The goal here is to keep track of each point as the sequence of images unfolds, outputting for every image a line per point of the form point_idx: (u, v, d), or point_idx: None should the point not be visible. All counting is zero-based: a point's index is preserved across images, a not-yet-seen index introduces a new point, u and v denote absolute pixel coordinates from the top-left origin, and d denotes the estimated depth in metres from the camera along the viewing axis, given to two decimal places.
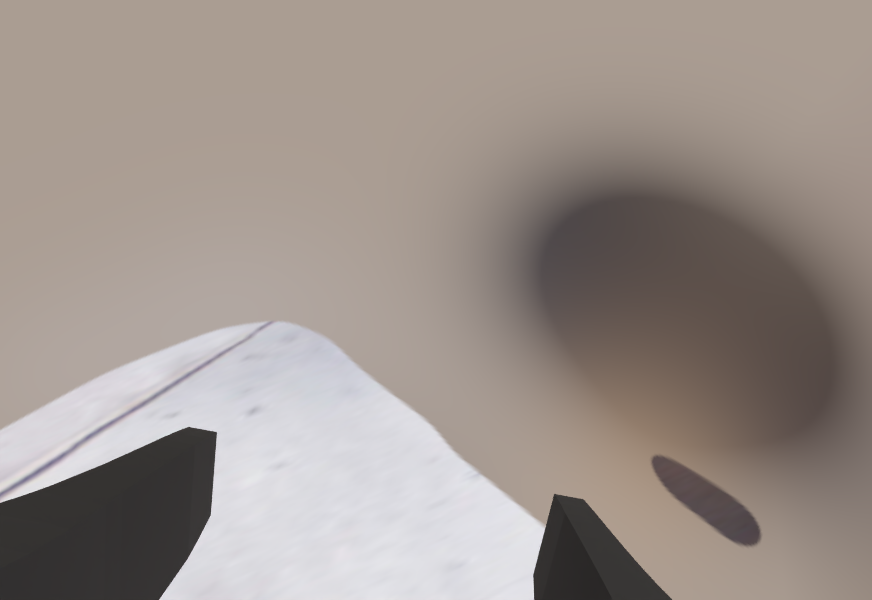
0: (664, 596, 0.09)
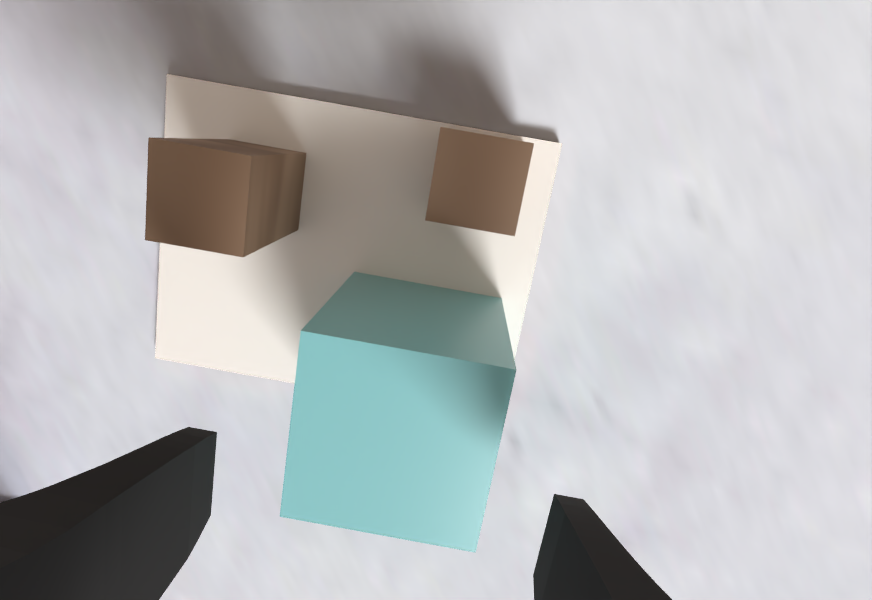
0: (664, 596, 0.09)
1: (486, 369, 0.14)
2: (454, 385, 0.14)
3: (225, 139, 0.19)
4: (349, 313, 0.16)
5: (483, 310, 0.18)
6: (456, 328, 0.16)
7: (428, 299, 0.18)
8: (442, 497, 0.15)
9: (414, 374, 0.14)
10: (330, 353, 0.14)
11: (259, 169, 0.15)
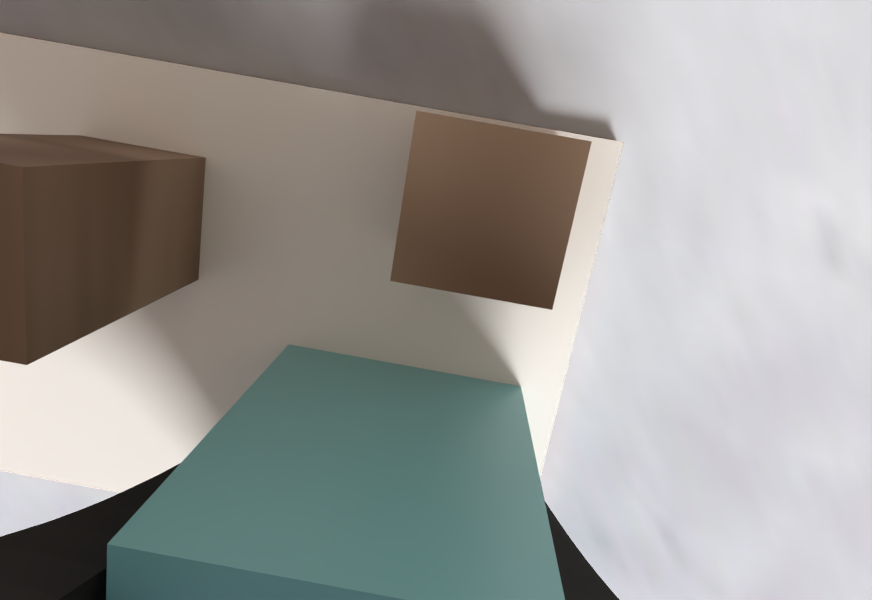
0: (601, 585, 0.09)
1: None
2: None
3: (68, 135, 0.11)
4: (243, 463, 0.08)
5: (494, 424, 0.11)
6: (445, 485, 0.09)
7: (402, 401, 0.11)
8: None
9: None
10: (173, 589, 0.06)
11: (61, 192, 0.08)
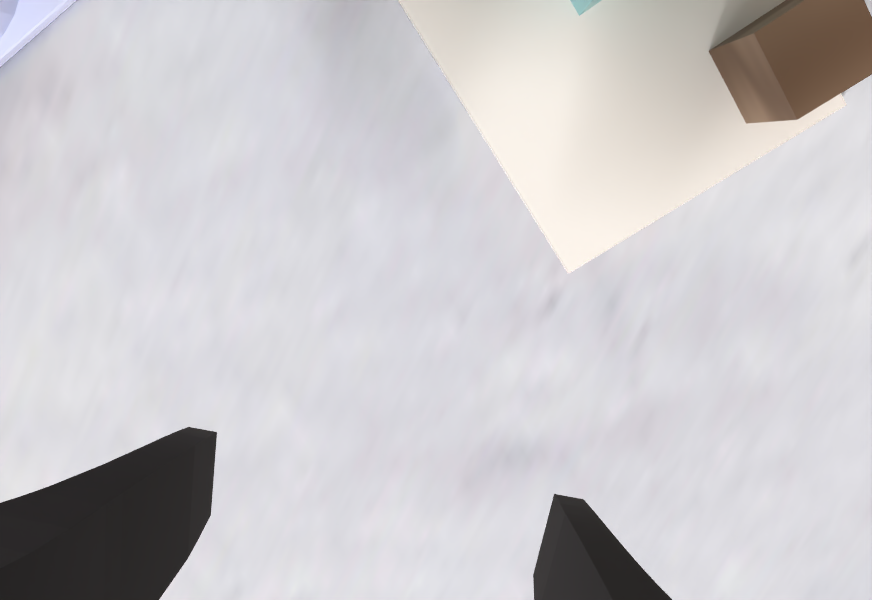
0: (664, 596, 0.09)
1: None
2: None
3: None
4: None
5: None
6: None
7: None
8: None
9: None
10: None
11: None
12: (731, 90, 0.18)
